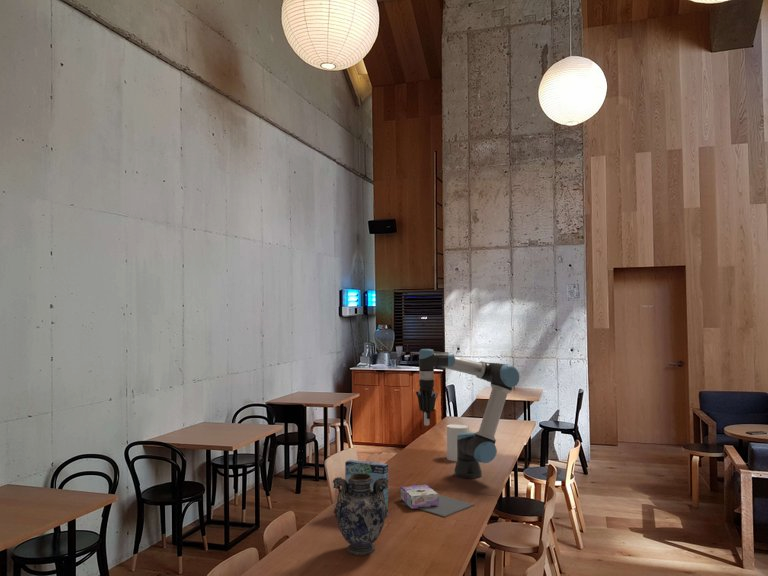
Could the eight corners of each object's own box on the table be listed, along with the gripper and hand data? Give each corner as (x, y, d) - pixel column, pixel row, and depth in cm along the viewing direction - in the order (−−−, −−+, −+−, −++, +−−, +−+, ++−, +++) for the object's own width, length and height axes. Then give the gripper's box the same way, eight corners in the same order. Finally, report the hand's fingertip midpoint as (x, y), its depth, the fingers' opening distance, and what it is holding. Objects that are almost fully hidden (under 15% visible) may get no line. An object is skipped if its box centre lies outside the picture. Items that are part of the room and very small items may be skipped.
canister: (443, 457, 370) (443, 424, 370) (463, 455, 374) (463, 423, 374) (452, 462, 357) (452, 428, 357) (472, 460, 361) (472, 427, 362)
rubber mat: (431, 493, 296) (431, 492, 296) (474, 505, 278) (474, 504, 278) (401, 504, 280) (401, 502, 280) (444, 517, 262) (444, 516, 262)
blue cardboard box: (344, 513, 268) (344, 461, 269) (349, 509, 273) (349, 459, 274) (384, 519, 260) (383, 466, 261) (388, 515, 265) (388, 463, 266)
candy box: (400, 498, 287) (410, 509, 271) (400, 486, 287) (410, 496, 271) (427, 496, 290) (439, 506, 275) (427, 483, 291) (438, 493, 275)
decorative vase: (388, 539, 237) (387, 468, 237) (390, 559, 218) (389, 483, 219) (334, 540, 236) (333, 469, 237) (331, 560, 217) (331, 484, 218)
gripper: (412, 378, 308) (412, 424, 307) (431, 380, 299) (431, 427, 298) (421, 377, 314) (422, 422, 313) (440, 379, 304) (441, 425, 304)
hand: (426, 425), depth 305 cm, fingers closed
